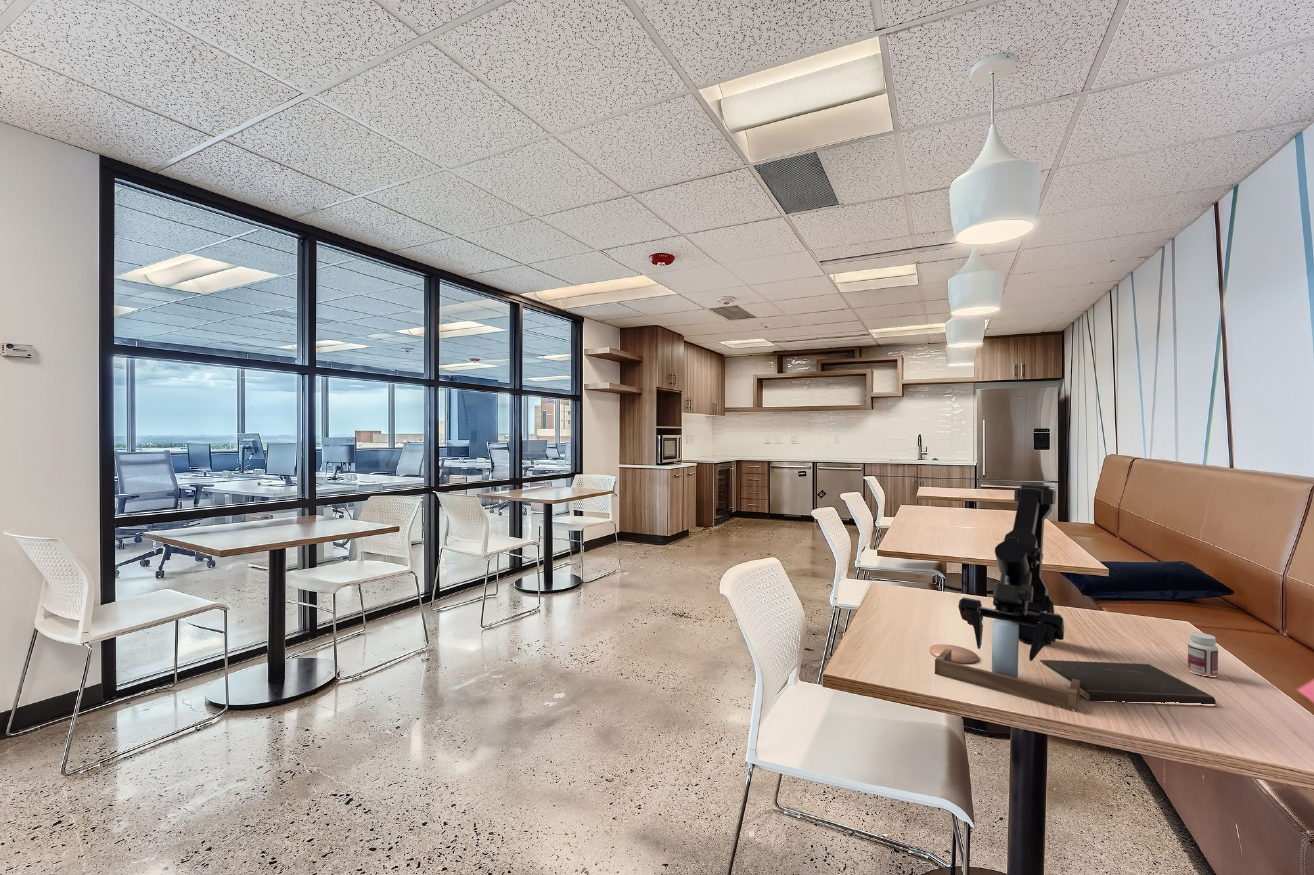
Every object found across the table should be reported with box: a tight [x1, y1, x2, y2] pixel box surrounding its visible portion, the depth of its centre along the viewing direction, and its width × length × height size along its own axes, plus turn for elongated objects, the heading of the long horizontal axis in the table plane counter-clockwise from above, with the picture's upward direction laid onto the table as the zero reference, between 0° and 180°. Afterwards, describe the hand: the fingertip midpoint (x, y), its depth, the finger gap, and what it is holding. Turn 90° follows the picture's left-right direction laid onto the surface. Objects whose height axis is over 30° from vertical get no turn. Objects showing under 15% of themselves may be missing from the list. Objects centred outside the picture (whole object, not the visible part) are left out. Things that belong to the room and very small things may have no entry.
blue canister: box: [991, 619, 1020, 679], centre depth 116 cm, size 5×5×12 cm
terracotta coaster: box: [928, 643, 979, 665], centre depth 131 cm, size 10×10×1 cm
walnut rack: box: [934, 649, 1081, 711], centre depth 116 cm, size 9×24×3 cm, turn 49°
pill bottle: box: [1187, 632, 1219, 677], centre depth 123 cm, size 5×5×8 cm
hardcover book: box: [1039, 659, 1217, 704], centre depth 116 cm, size 16×23×2 cm
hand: (1003, 653), depth 115 cm, fingers open, 9 cm apart
